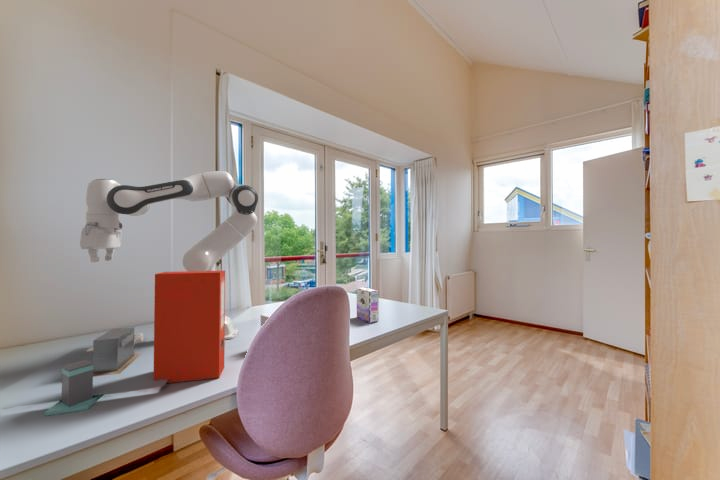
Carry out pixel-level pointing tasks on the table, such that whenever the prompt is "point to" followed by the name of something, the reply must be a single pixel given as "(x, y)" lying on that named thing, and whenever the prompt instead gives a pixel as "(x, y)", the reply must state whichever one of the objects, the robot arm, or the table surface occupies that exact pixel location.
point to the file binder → (189, 325)
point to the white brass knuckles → (137, 339)
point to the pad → (63, 408)
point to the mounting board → (120, 368)
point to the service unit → (113, 350)
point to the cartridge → (77, 382)
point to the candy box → (367, 304)
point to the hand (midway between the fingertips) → (102, 261)
